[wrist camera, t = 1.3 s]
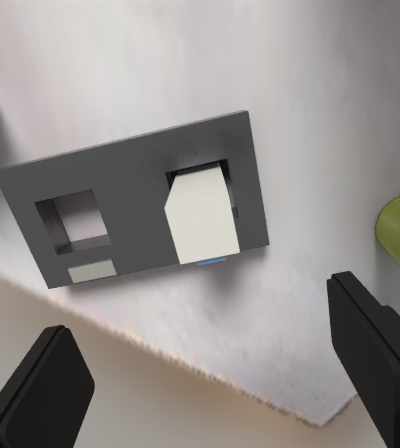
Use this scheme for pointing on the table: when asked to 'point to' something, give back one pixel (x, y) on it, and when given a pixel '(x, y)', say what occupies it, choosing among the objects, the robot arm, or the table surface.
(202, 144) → the jack panel
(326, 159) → the table surface
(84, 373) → the robot arm
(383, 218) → the plant pot
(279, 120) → the table surface
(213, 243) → the plug
